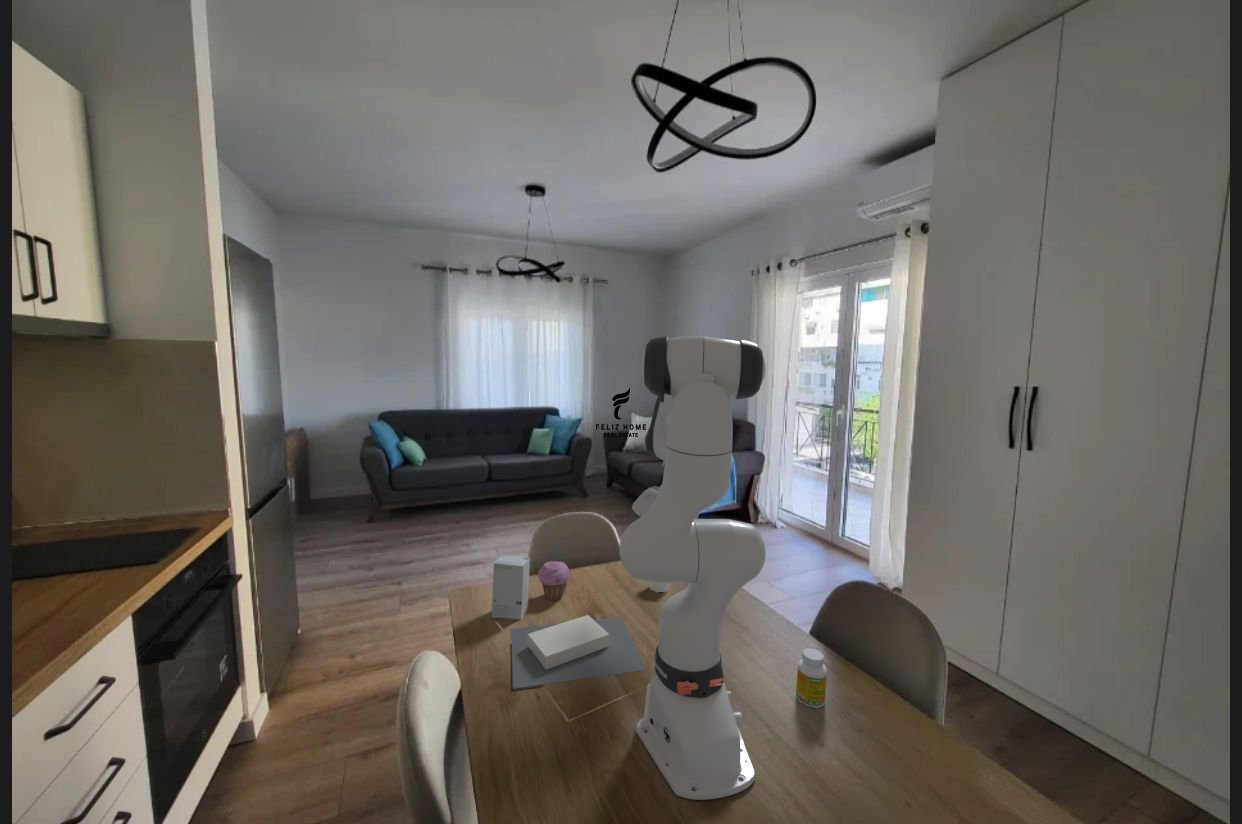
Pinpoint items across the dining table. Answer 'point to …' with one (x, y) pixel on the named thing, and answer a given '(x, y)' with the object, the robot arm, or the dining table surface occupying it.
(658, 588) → the grey white cylinder
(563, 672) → the slate mat
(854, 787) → the dining table surface
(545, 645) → the plain white box
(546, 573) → the cupcake
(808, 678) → the supplement bottle
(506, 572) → the skincare box
